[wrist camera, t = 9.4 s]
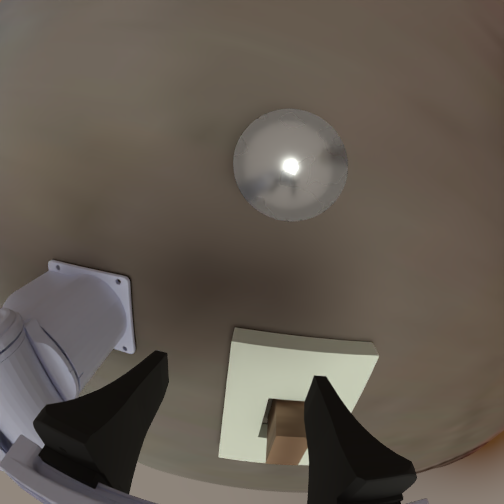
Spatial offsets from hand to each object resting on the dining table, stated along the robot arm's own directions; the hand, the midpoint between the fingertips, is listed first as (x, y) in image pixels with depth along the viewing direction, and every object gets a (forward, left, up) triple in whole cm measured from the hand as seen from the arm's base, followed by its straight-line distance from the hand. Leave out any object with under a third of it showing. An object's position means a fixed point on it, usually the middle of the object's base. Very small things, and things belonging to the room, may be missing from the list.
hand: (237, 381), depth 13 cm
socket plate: (+5, -12, -9) cm, 16 cm away
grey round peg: (+1, +10, -10) cm, 14 cm away
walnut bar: (+5, -12, -10) cm, 16 cm away
